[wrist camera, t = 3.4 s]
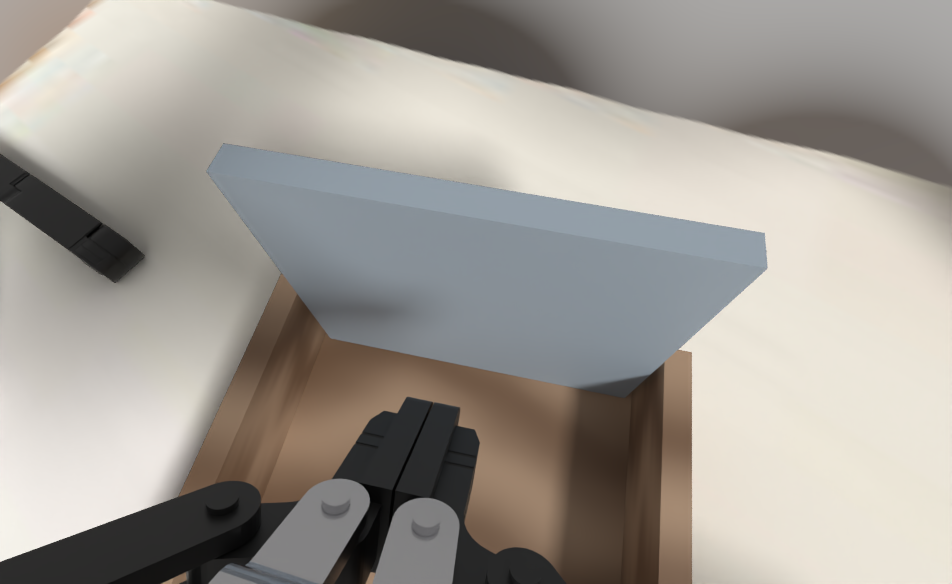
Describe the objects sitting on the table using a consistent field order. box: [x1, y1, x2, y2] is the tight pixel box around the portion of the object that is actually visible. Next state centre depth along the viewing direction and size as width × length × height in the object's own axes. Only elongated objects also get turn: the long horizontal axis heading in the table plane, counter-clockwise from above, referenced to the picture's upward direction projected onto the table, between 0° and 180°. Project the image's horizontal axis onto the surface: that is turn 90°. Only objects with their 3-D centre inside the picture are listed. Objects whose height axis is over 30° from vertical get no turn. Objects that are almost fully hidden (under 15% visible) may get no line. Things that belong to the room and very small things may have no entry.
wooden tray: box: [162, 274, 692, 584], centre depth 21 cm, size 20×20×6 cm
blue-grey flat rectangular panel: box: [206, 143, 767, 398], centre depth 20 cm, size 2×17×14 cm, turn 78°
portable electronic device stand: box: [0, 154, 145, 283], centre depth 32 cm, size 18×3×3 cm, turn 58°
